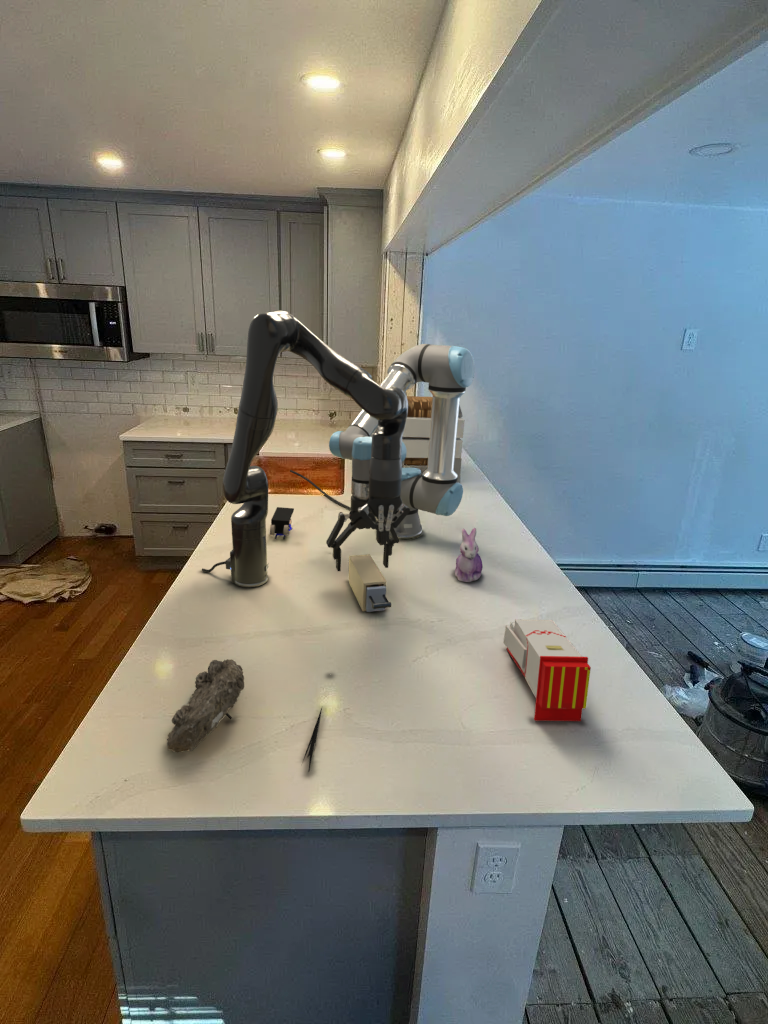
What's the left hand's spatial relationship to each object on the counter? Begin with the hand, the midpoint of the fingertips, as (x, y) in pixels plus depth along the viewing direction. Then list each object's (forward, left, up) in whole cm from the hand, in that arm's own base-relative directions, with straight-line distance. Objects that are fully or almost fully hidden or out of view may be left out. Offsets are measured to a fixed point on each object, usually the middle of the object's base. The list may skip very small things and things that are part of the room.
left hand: (382, 543), depth 137 cm
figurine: (+22, +31, -21) cm, 43 cm away
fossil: (-24, -43, -21) cm, 54 cm away
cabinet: (-6, +12, -21) cm, 25 cm away
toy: (+38, -16, -21) cm, 47 cm away
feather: (-4, -39, -21) cm, 45 cm away
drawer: (-4, +7, -20) cm, 22 cm away
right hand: (-8, +16, -15) cm, 24 cm away
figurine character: (-43, +48, -21) cm, 67 cm away
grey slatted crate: (-6, +140, -21) cm, 141 cm away
